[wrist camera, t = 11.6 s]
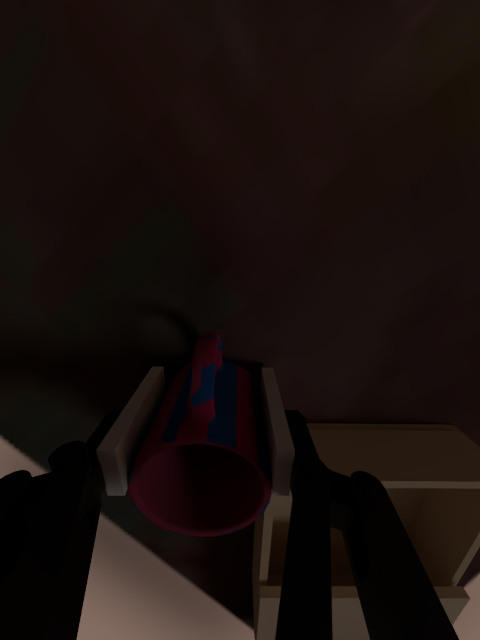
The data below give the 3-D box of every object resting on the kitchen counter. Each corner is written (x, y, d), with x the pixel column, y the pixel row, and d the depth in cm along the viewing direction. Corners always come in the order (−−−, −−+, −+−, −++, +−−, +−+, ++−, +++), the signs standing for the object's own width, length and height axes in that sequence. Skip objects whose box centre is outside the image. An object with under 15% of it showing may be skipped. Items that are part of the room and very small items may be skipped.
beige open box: (260, 422, 18) (267, 480, 14) (453, 424, 18) (518, 481, 14) (251, 569, 25) (254, 638, 20) (392, 569, 25) (423, 638, 20)
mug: (166, 426, 18) (126, 531, 12) (176, 305, 15) (127, 358, 8) (250, 436, 18) (256, 543, 12) (278, 321, 15) (307, 383, 9)
